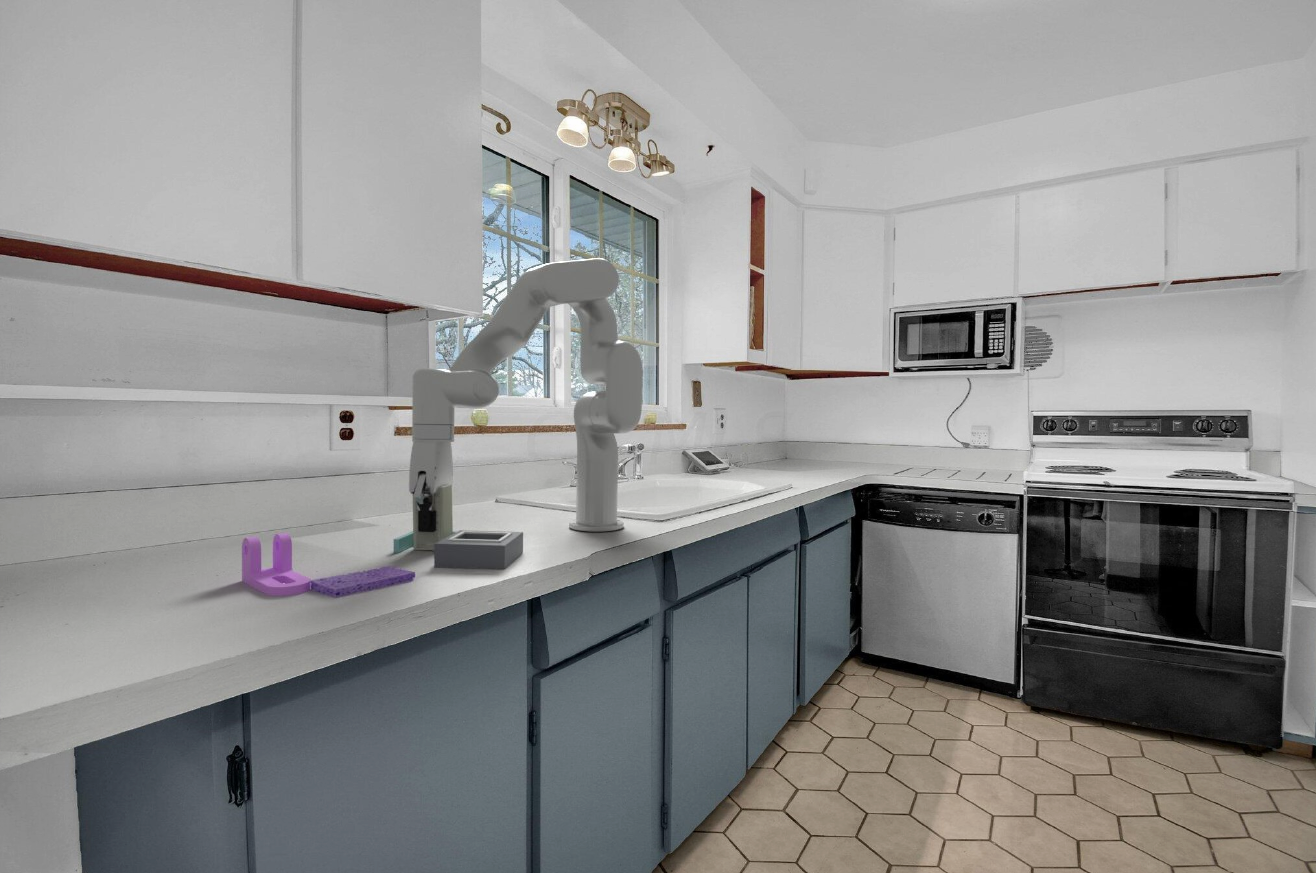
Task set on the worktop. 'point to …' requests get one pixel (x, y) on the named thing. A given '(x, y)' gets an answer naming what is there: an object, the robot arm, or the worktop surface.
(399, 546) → the teal l-shaped piece
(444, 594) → the worktop surface
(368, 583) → the sponges
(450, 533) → the skincare box
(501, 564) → the socket block
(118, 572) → the worktop surface
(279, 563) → the bracket
